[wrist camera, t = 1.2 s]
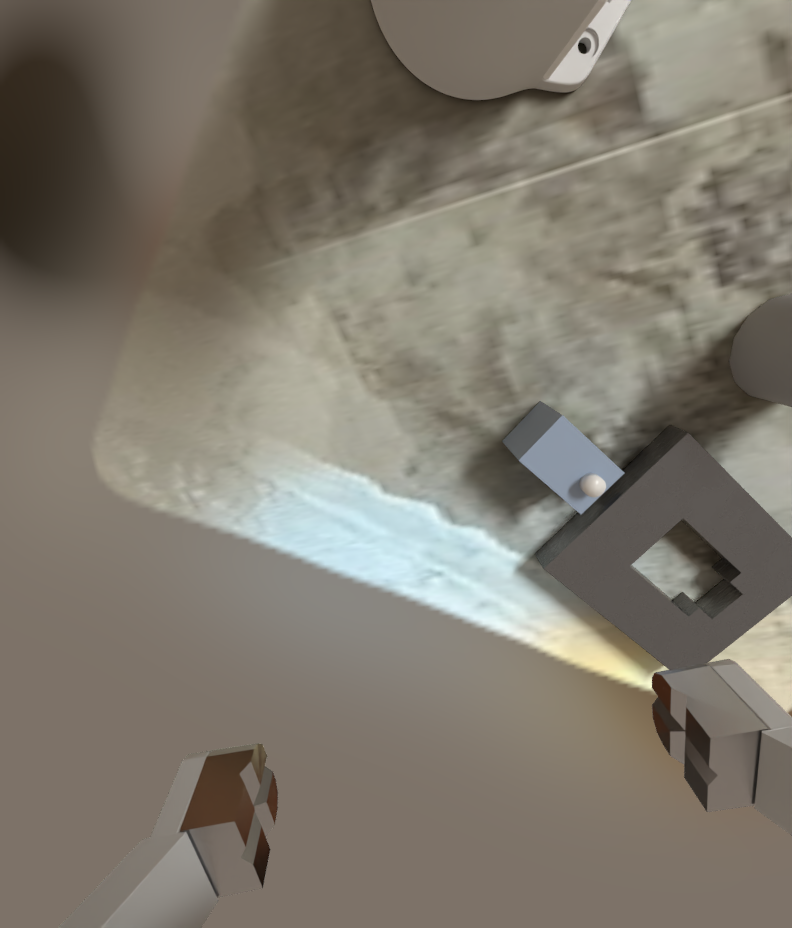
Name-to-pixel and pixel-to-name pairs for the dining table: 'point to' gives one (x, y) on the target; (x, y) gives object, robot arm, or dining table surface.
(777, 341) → the cup
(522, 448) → the block
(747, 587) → the frame
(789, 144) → the dining table surface
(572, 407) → the dining table surface
